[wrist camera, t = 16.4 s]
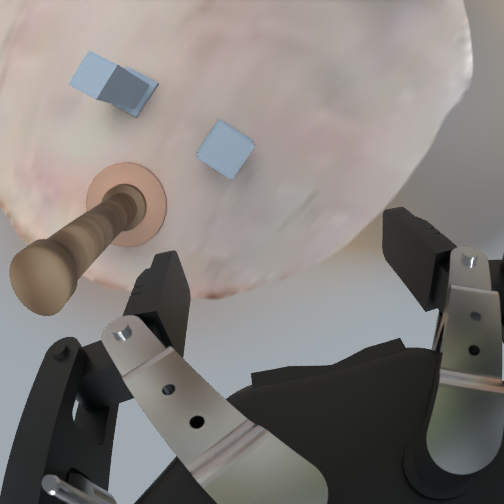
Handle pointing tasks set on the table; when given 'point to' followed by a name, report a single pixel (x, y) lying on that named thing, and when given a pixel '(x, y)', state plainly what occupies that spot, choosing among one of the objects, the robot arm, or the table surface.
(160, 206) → the disc
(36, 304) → the candlestick
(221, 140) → the blue pillar pair
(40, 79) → the table surface
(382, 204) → the table surface
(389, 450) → the robot arm
